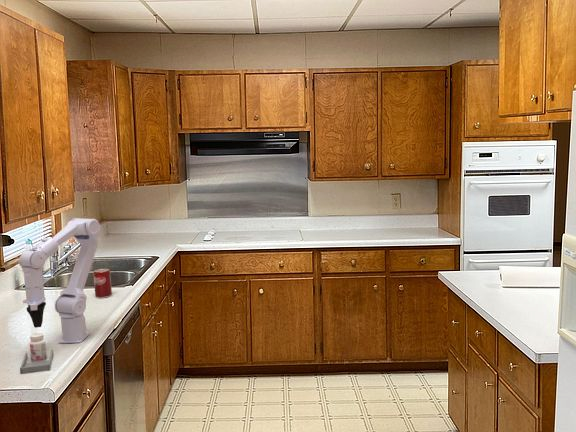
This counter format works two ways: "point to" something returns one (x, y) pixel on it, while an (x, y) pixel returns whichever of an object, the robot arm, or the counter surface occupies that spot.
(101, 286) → the soda can
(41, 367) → the tray
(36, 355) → the pill bottle
